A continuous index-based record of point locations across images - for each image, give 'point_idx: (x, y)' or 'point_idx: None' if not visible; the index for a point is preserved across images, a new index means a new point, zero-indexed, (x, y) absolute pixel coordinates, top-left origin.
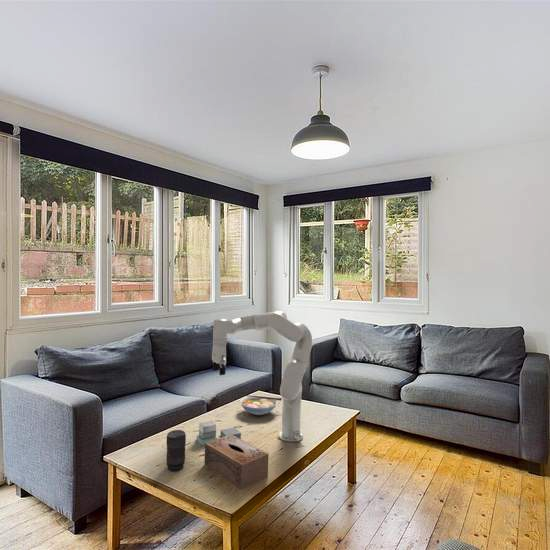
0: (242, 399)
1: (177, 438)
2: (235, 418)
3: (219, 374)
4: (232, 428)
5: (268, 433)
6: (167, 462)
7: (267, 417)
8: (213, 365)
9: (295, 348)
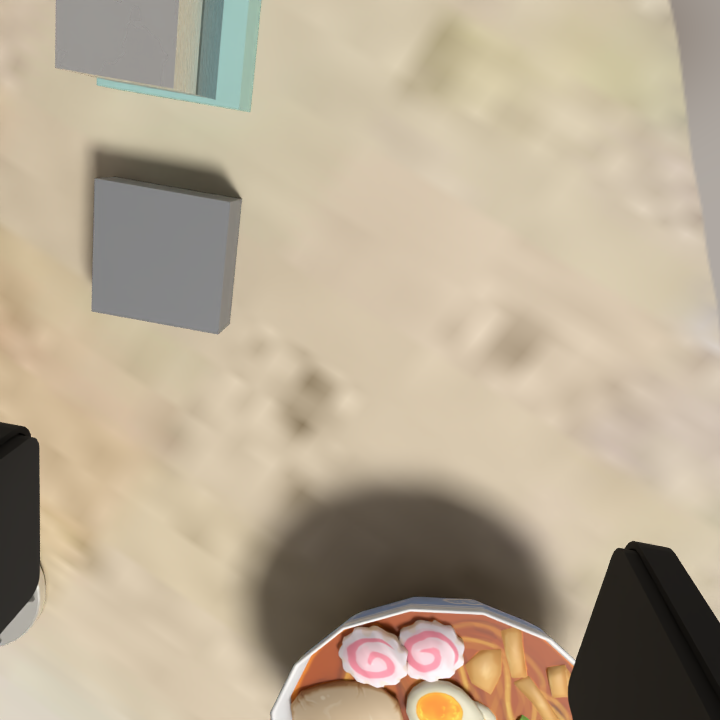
0: None
1: None
2: (461, 481)
3: (13, 425)
4: (207, 306)
5: (83, 501)
6: None
7: None
8: (716, 698)
9: None
